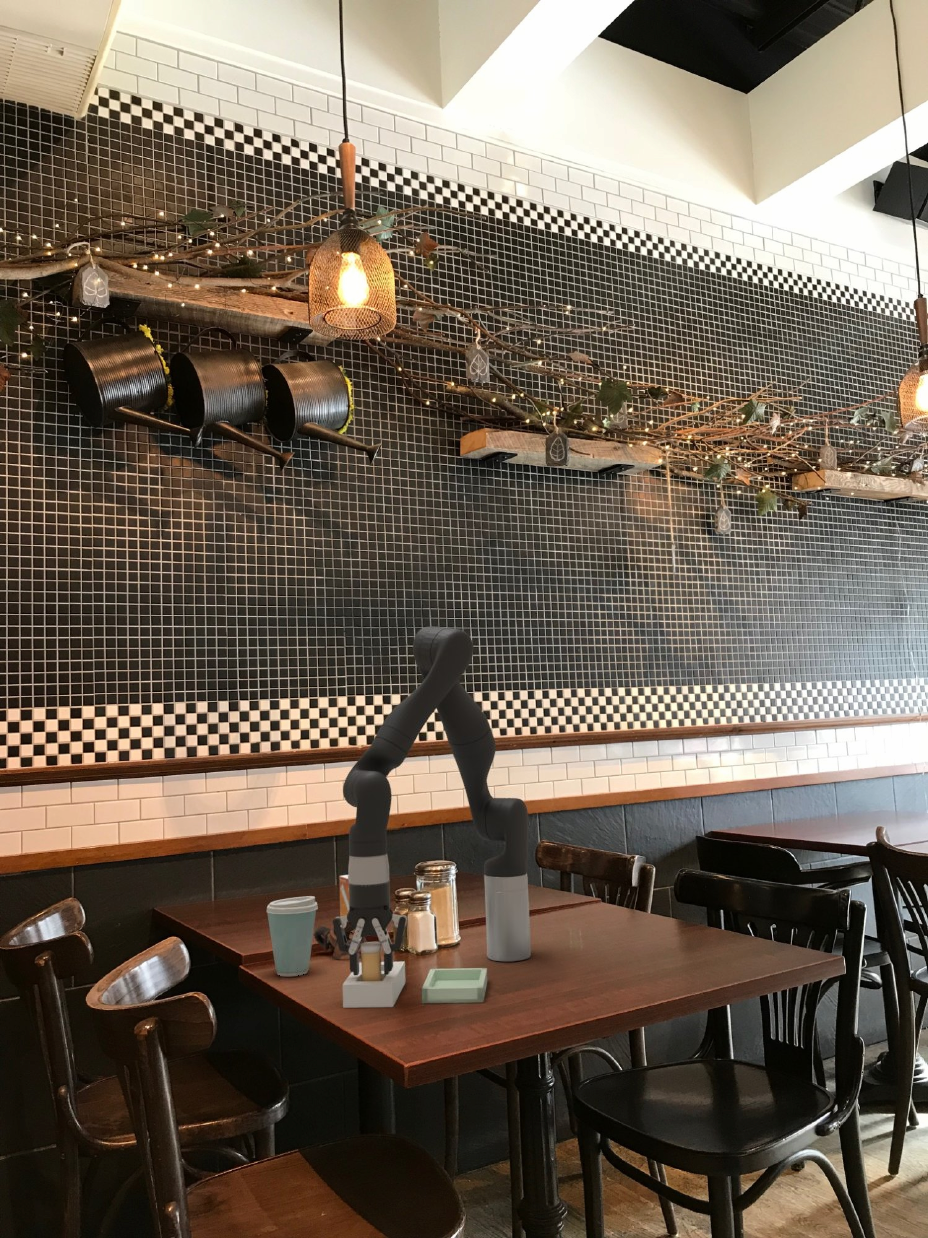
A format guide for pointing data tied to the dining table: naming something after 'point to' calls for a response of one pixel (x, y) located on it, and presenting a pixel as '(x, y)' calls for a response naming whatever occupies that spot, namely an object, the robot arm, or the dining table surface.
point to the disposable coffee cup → (292, 933)
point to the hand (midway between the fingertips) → (371, 973)
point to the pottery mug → (334, 939)
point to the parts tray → (455, 985)
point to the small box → (344, 895)
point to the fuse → (371, 961)
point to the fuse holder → (374, 988)
